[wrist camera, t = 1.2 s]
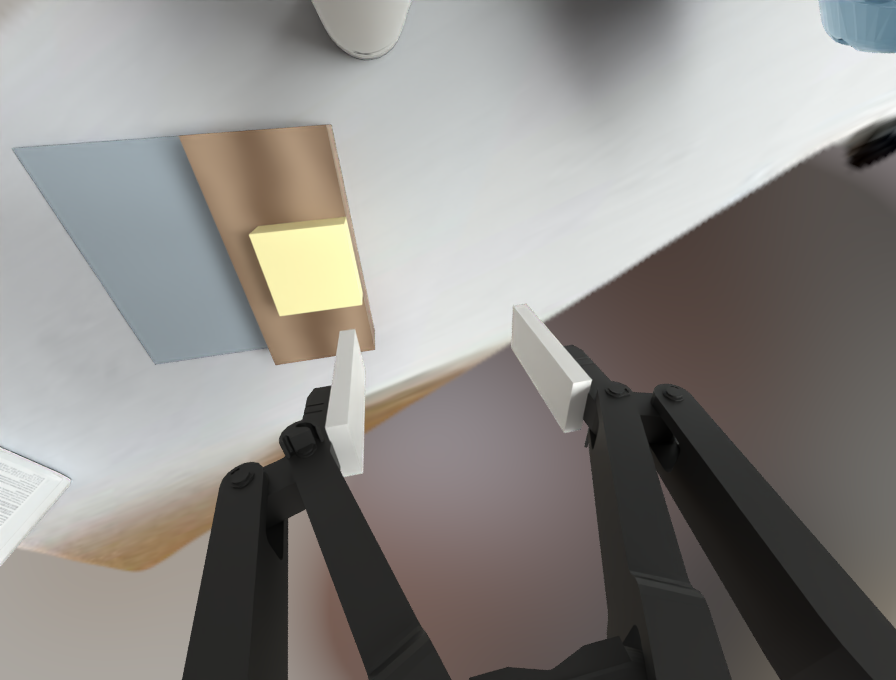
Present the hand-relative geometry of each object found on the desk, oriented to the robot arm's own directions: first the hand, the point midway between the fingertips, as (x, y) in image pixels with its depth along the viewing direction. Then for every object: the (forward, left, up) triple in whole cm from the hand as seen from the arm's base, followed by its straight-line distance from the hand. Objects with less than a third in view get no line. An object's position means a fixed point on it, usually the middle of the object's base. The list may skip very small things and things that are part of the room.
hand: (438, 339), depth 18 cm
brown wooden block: (+10, 0, -19) cm, 22 cm away
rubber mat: (+22, 0, -19) cm, 29 cm away
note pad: (+9, 0, -15) cm, 18 cm away
